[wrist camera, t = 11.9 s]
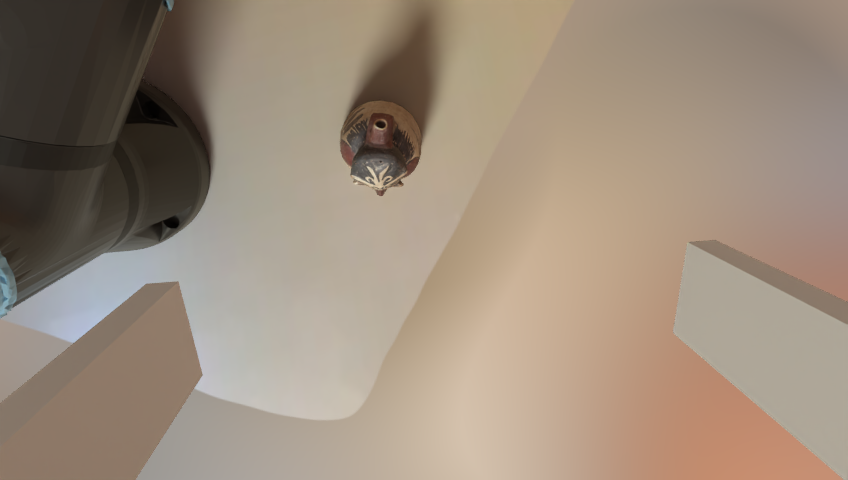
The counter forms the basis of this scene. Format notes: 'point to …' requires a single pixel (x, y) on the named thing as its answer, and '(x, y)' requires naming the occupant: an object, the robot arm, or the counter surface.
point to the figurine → (380, 145)
